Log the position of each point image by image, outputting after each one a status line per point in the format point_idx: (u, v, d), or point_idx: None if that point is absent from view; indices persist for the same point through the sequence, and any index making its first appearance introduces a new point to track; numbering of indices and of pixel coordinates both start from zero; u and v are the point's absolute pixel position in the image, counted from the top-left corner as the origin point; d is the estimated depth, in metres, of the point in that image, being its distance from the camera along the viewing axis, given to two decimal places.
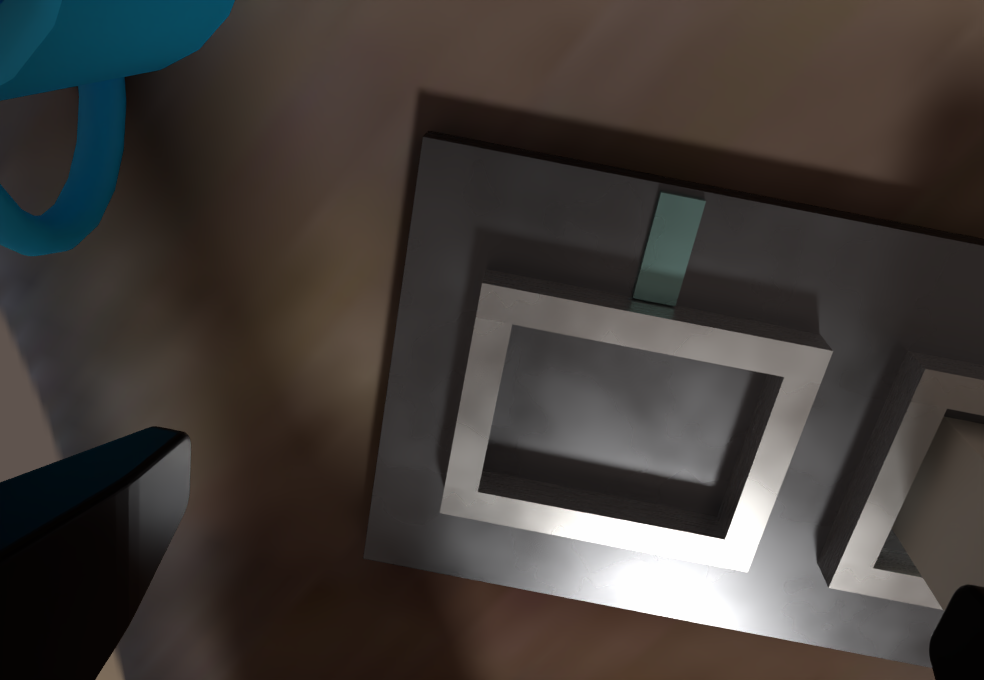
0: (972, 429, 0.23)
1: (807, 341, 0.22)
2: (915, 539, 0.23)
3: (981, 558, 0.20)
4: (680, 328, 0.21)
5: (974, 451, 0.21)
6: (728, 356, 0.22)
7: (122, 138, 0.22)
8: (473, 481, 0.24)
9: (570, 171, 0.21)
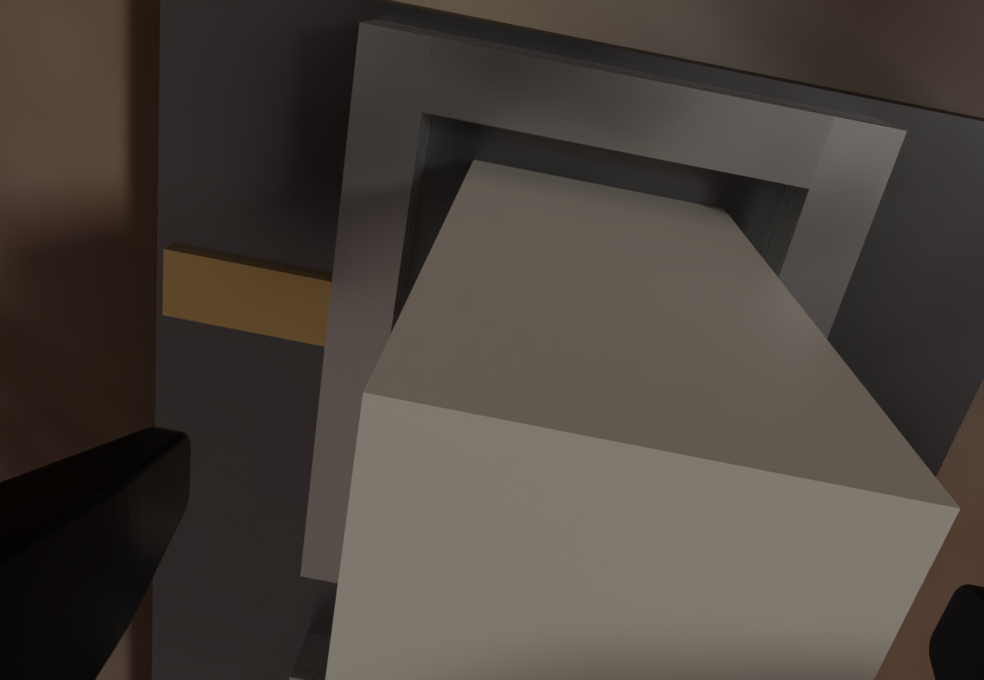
0: None
1: None
2: None
3: None
4: None
5: None
6: None
7: None
8: None
9: None
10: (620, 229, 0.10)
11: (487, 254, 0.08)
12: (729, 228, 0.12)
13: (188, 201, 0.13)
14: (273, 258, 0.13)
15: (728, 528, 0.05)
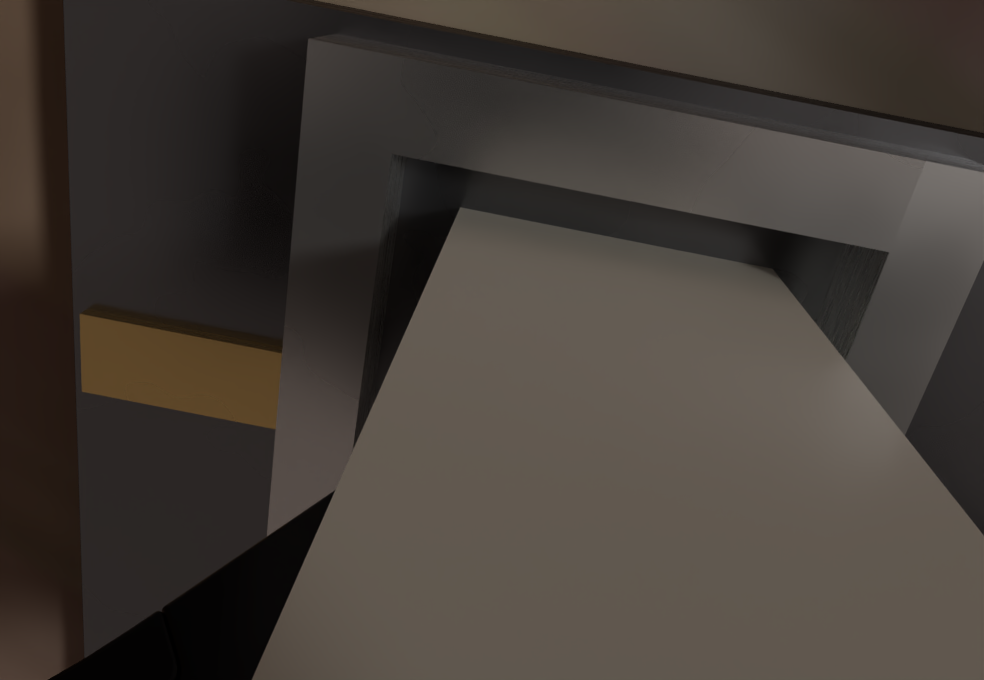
0: None
1: None
2: None
3: None
4: None
5: None
6: None
7: None
8: None
9: None
10: (649, 313, 0.08)
11: (470, 375, 0.06)
12: (785, 301, 0.09)
13: (109, 256, 0.11)
14: (215, 325, 0.11)
15: None
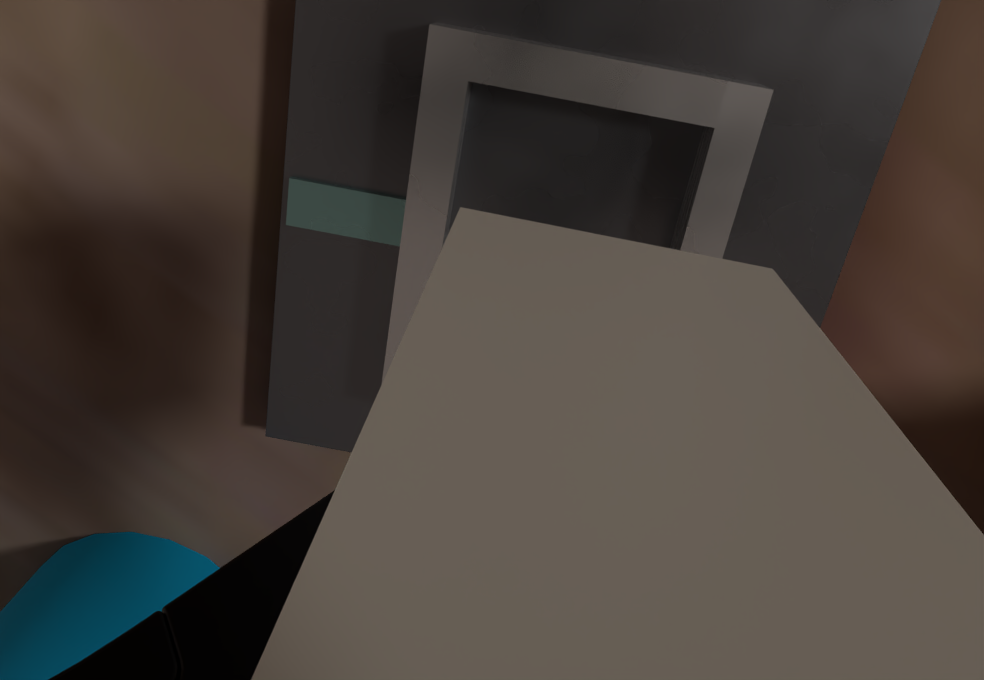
0: None
1: None
2: None
3: None
4: (413, 210, 0.19)
5: None
6: (444, 152, 0.18)
7: None
8: None
9: (280, 309, 0.21)
10: (649, 312, 0.08)
11: (468, 375, 0.06)
12: (785, 300, 0.09)
13: None
14: None
15: None
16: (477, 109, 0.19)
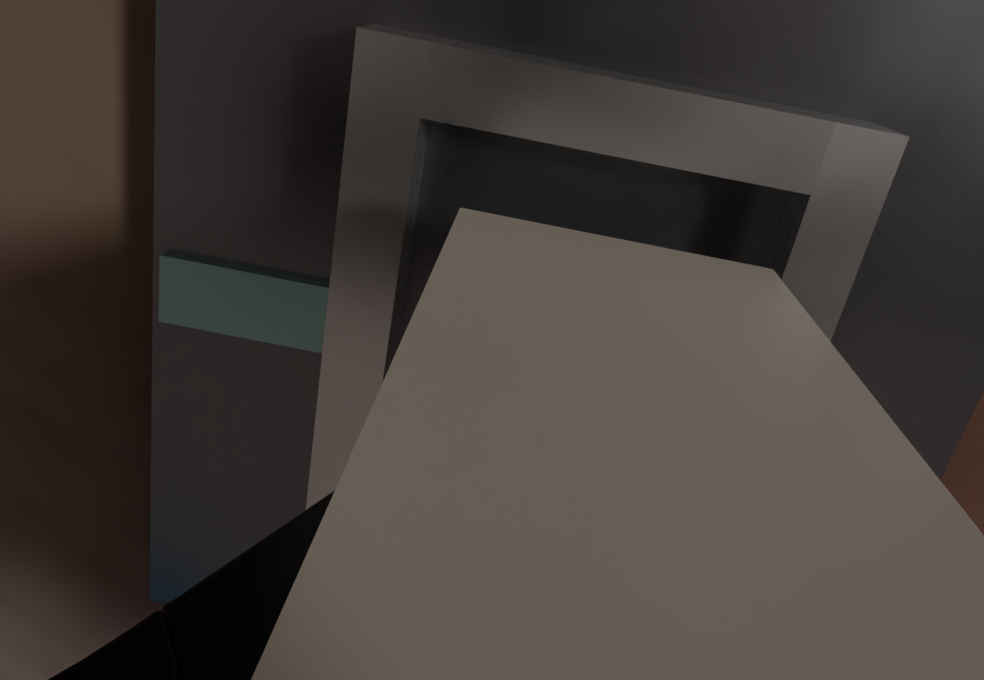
0: None
1: None
2: None
3: None
4: (339, 311, 0.12)
5: None
6: (384, 226, 0.12)
7: None
8: None
9: (160, 435, 0.15)
10: (649, 313, 0.08)
11: (470, 375, 0.06)
12: (785, 301, 0.09)
13: None
14: None
15: None
16: (439, 157, 0.12)
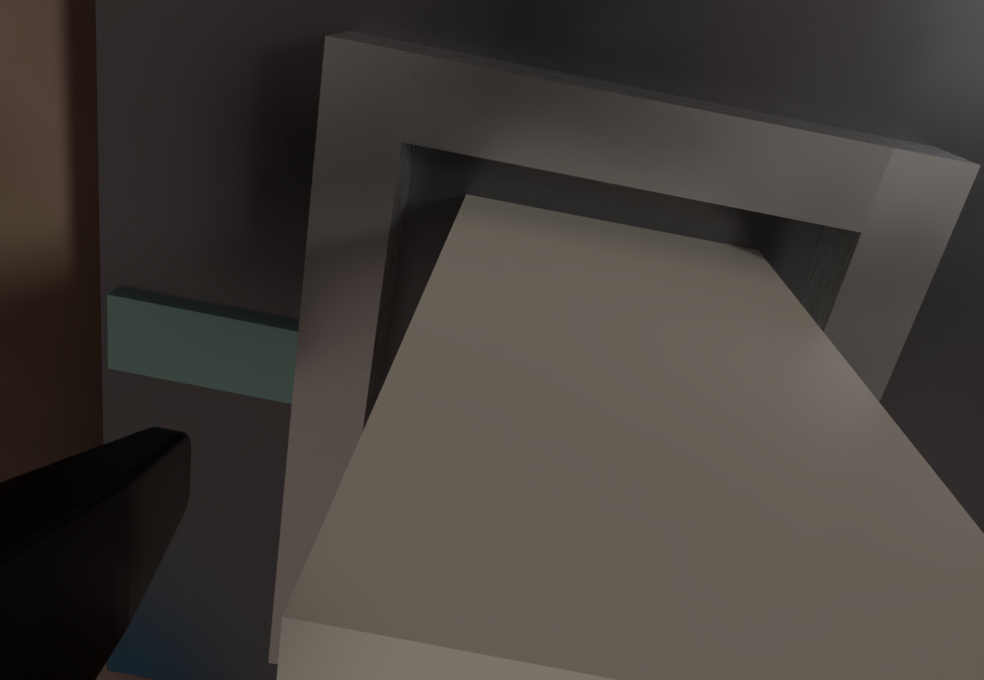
0: None
1: None
2: None
3: None
4: (310, 362, 0.11)
5: None
6: (361, 267, 0.10)
7: None
8: None
9: None
10: (641, 286, 0.09)
11: (478, 335, 0.07)
12: (768, 277, 0.10)
13: None
14: None
15: None
16: (426, 184, 0.11)
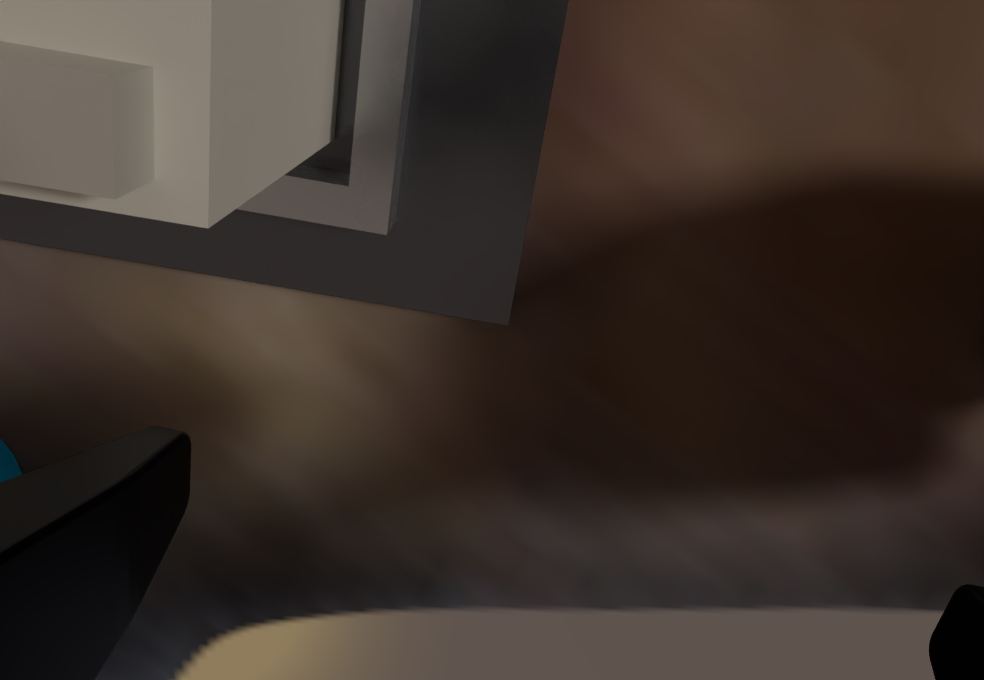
0: None
1: None
2: None
3: None
4: None
5: None
6: None
7: None
8: (333, 191, 0.19)
9: None
10: None
11: None
12: None
13: None
14: None
15: None
16: None
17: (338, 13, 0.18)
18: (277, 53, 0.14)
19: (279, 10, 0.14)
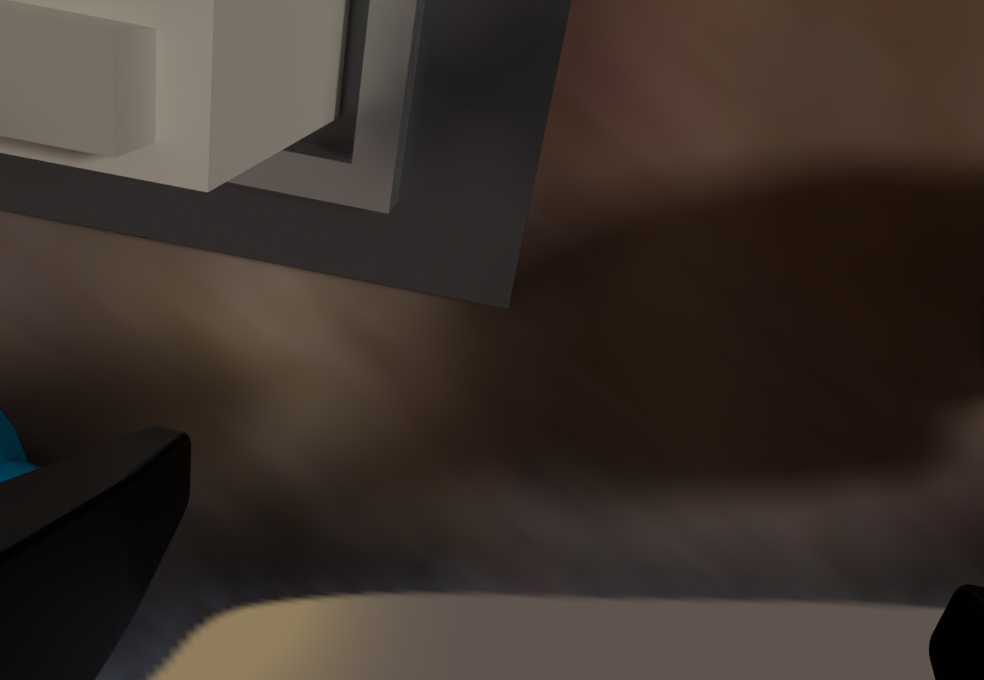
0: None
1: None
2: None
3: None
4: None
5: None
6: None
7: None
8: (336, 169, 0.19)
9: None
10: None
11: None
12: None
13: None
14: None
15: None
16: None
17: None
18: (282, 23, 0.14)
19: None
